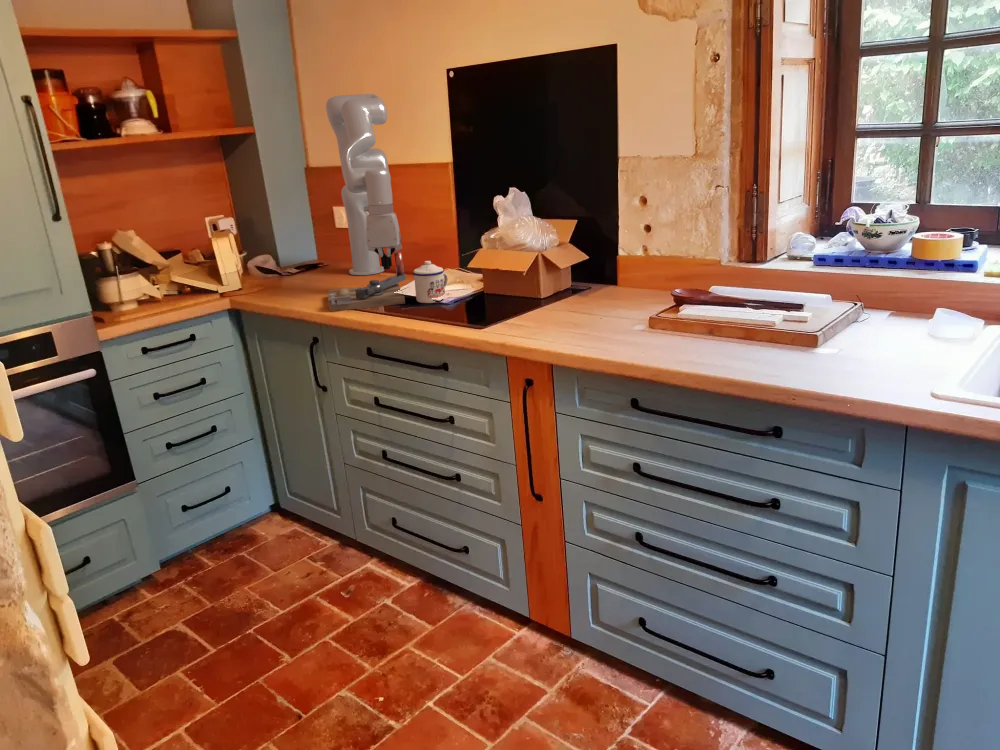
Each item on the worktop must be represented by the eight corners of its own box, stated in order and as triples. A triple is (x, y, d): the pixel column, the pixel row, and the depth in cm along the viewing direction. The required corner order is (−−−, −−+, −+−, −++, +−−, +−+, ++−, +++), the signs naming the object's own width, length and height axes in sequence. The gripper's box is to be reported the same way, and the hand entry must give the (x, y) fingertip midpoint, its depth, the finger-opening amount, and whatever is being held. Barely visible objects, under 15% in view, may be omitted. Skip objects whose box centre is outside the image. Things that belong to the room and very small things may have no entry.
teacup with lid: (430, 304, 220) (426, 265, 216) (409, 301, 226) (405, 262, 222) (459, 296, 228) (456, 258, 224) (438, 293, 234) (435, 255, 230)
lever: (396, 281, 242) (393, 251, 239) (409, 281, 240) (406, 251, 237) (356, 298, 223) (352, 265, 220) (369, 298, 221) (365, 266, 218)
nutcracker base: (328, 296, 238) (326, 277, 236) (398, 289, 242) (396, 270, 240) (329, 312, 218) (326, 291, 216) (405, 304, 222) (403, 283, 220)
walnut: (337, 300, 223) (335, 287, 222) (350, 299, 224) (349, 285, 223) (337, 303, 219) (335, 290, 218) (351, 302, 220) (349, 288, 219)
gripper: (354, 212, 231) (361, 272, 237) (402, 210, 229) (408, 270, 235) (360, 209, 238) (366, 267, 244) (407, 207, 236) (412, 265, 242)
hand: (387, 268), depth 240 cm, fingers closed
